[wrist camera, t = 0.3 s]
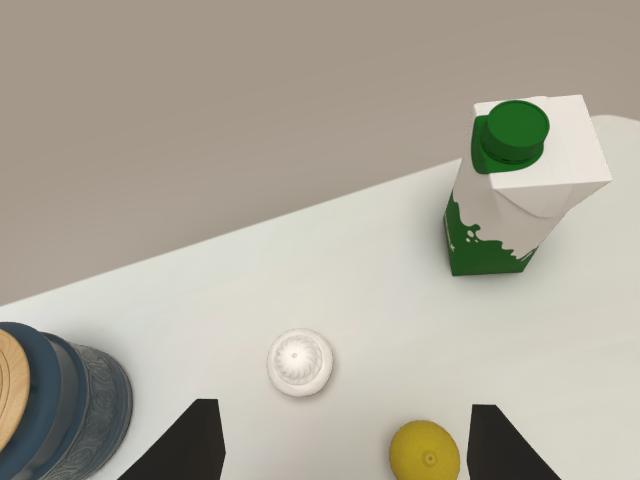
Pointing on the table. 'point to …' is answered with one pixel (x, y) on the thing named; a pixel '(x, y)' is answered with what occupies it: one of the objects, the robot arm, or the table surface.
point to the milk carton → (519, 180)
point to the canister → (57, 406)
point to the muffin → (299, 362)
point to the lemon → (424, 453)
